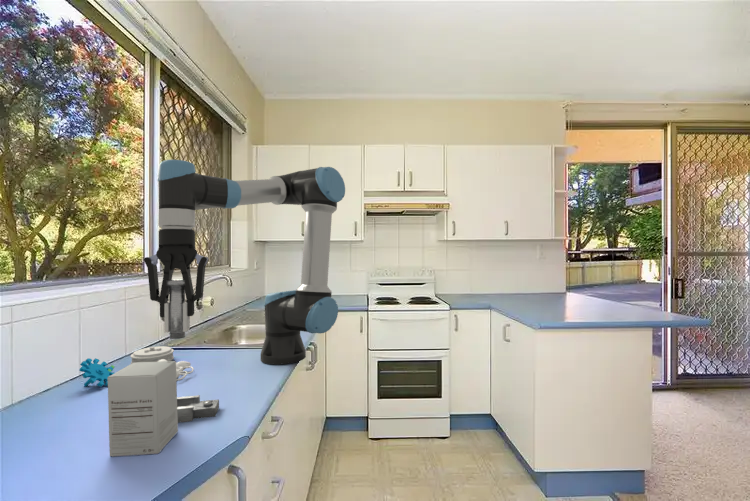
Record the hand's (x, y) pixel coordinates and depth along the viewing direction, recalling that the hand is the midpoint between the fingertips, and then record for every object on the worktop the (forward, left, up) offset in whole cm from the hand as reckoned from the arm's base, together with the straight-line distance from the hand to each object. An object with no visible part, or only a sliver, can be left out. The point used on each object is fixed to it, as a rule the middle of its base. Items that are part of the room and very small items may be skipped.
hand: (177, 330), depth 89 cm
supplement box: (+3, +13, -20) cm, 24 cm away
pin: (0, 0, -2) cm, 2 cm away
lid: (+20, -47, -20) cm, 55 cm away
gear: (+28, -27, -20) cm, 43 cm away
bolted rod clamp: (0, +1, -19) cm, 19 cm away
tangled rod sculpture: (+11, -27, -20) cm, 35 cm away
